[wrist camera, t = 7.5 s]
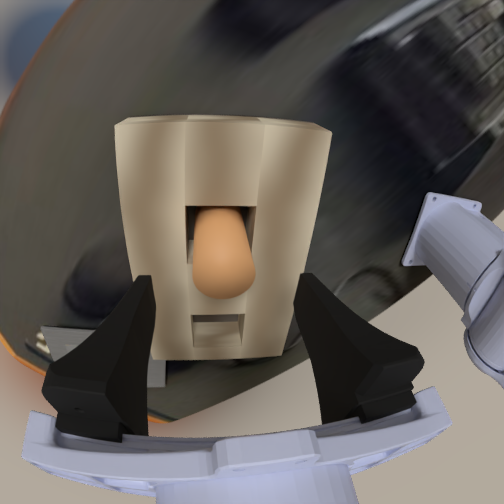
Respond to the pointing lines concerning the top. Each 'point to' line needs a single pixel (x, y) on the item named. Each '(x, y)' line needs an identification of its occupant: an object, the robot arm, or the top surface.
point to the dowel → (221, 252)
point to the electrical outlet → (70, 338)
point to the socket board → (219, 194)
